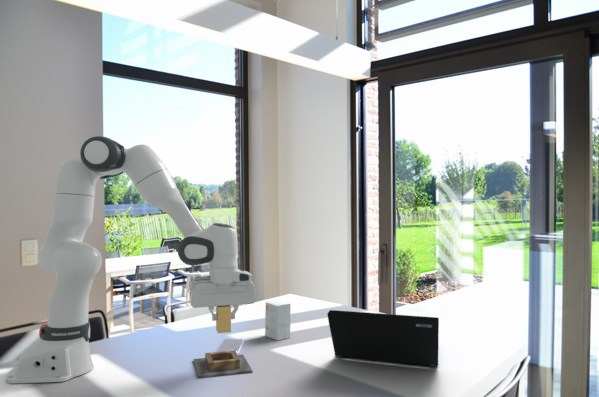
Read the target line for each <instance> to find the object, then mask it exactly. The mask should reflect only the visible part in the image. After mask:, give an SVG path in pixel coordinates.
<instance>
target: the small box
mask: <svg viewBox="0 0 599 397" xmlns="http://www.w3.org/2000/svg"><path fill="white" fill-rule="evenodd" d="M264 316H265V317H264V318H265V320H264V321H265V322H264V323H265V324H264V325H265V326H264V329H265V330H264V336H266V337H267V338H270V339H273V340H274V341H275V340H276V341H281V340H286V339H290V338H291V303H289V302H286V301H282V300H272V301H265V315H264Z"/></svg>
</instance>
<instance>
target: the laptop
mask: <svg viewBox="0 0 599 397" xmlns="http://www.w3.org/2000/svg"><path fill="white" fill-rule="evenodd" d="M326 315H327V320H328V325H329V330H330V336H331V340H332V341H331V342H332V346H333V352H334V356H335V357H338V358H344V359H345V358H346V359H353V360H364V361H365V360H366V361H375V362H385V363H386V362H387V363H396V364H407V365H417V366H425V367H427V366H428V367H436V366H439V332H440V331H439V324H440V322H439V317H436V316H435V317H434V316H419V315H405V314H391V313H377V312H376V313H375V312H364V311H352V310H351V311H350V310H349V311H348V310H334V309H333V310H331V309H330V310H328V312H327V314H326Z"/></svg>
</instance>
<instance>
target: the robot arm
mask: <svg viewBox="0 0 599 397" xmlns="http://www.w3.org/2000/svg"><path fill="white" fill-rule="evenodd" d="M79 153H80V154H79V155H80V158H69V159H67V160H65V161H63V162H62V163H61V165H60V167H59V170H58V172H57V176H56V180H55V181H56V182H55V187H54V195H53V196H54V197H53V204H52V205H53V206H52V214H51V215H52V216H51V221H50V225H49V228H48V230H47V234H46V237H45V240H44V242H43V245H42V246H41V247H40V248H39V250H38V252H37V263H38V264H39V266H40V267H41V268H42V269H43V270H44V271H45V272H47V273H48V274H50V275H54V276H55V283H54V286H53V288H52V292H51V294H50V295H49V296H48V299H47V317H46V318H47V322H43V323H42V324H41V325H40V328H39V333H38V336H39V338H38V339H36V341H34V342H32V343H31V344H30V345H29V346H28V347H26V348H25V349H24V350H23V351H21V353H20V354H19V355H18V356H19V357H18V358H17V362H16V366H15V367H13V368H12V369H11V370H10V371H9V372H8V373H7V374H6V379H5V380H6V382H7V383H8V384H35V383H36V384H37V383H39V384H41V383H62V382H66V381H69V380H71V379H72V378H75V377H78V376H81V375H85V374H87V373H89V372H90V371H92V370H93V368H94V363H93V360H92V356H91V350H90V349H91V348H90V338H91V324H90V322H91V321H90V320H89V310H90V308H89V304H90V303H89V302H90V300H89V299H90V293H91V290H92V286H93V283H94V279H95V276H96V275H97V274H98V273H99V272H100V270H101V269H102V265H103V256H102V254H101V252H100V250H99V249H98V248H96V247H94V246H93V245H91V244H89V243H87V242H83V241H84V238H85V234H86V232H87V230H88V228H89V226H91V225H92V223H93V219H94V208H95V196H96V187H97V182H98V181H99V180H100V179H101V180H103V179H107V178H112V177H117V176H121V175H122V174H123V173H124V174H126V175H127V176H128V177H129V179H130V181H131V182H132V184H133V185H134V187H135V189H136V191H137V192H138V193H139V195H140V196H141V198H142V199H143V200H144V201H145V202H146V203H147V204H148V205H150V206H151V207H154V208H156V209H158V210H161V211H163V213H165V214H166V215H168V216H169V217H170V218H171V219H172V221H173V222H174V224H175V225H176V227H177V228H178V230H179V231H180V233H181V234H182V236H183V238H182V240H181V241H180V242H179V243H178V245H177V255H178V258H179V260H180V261H181V262H182V263H184V264H185V265H188V266H194V267H195V266H199V265H203V264H208V266H209V267H208V270H209V271H208V275H206V276H205V275H204V276H195V277H194V278H191V279H190V281H189V290H190V299H189V303H190V306H191V307H192V308H193V309H196V308H197V309H198V308H208V311H209V312H210V313H211V320H212V322H214V321H215V322H216V320H218V319H217V317H218V315H217V314H216V313H214V309H215V307H216V306H226V305H230V306H232V307H233V309H232V310H231V320H235V318H236V313H237V311H238V309H239V305H249V304H250V305H252V304H255V302H256V301H257V293H256V292H257V291H256V286H255V283H254V282H253V274H251V272H249V271H247V270H243V269H241V268H240V269H239V267H238V266H239V264H238V260H237V259H238V258H237V256H238V253H239V251H238V250H239V248H238V247H239V246H238V243H239V242H238V241H239V240H238V234H237V230H236V229H235V227H234V226H232V225H230V224H226V223H223V222H221V223H220V222H219V223H218V222H216V223H214V222H213V223H212V224H211V225H210V226H208V227H206V228H203V227H202V226H201V224H200V223H199V222H198V220H197V219H196V218H195V216H194V214H193V213H192V212H191V209H190V208H189V207H188V205H187V204H186V202H185V201H184V198H183V197H182V195H181V193H180V191H179V189H178V186H177V185H176V183H175V180H174V179H173V177H172V175H171V173H170V171H169V170H168V168H167V166H166V165H165V163H164V162H163V161H162V160H161V158H160V157H159V155H158V154H157V153H156V152H155V151H154V150H153V149H152V147H150V146H149V145H147V144H137V145H134V146H132V147H130V148H125V146H124V145H122V144H120V143H119V142H117V140H113V139H111V138H109V137H106V136H103V135H102V136H101V135H99V136H98V135H97V136H92V137H90V138H88V139H87V140H85V141H84V142H83V144H82V145H81V147H80V152H79Z"/></svg>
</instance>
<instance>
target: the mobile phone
mask: <svg viewBox="0 0 599 397" xmlns="http://www.w3.org/2000/svg"><path fill="white" fill-rule="evenodd" d="M244 342H245V340H244V339H241V338H240V339H239V338H235V339H234V338H225V339H223V341H222V342H221V344H220V345H219V347H218V348H217V350H216V352H223V351H234V350H235V352H236V354H237V355H238V354H239V352H240V350H241V348H242V346H243V344H244Z"/></svg>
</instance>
